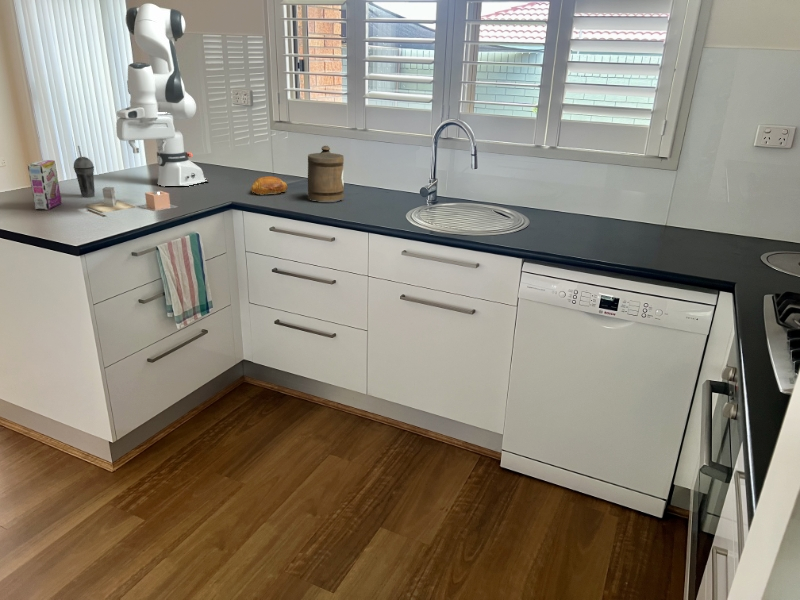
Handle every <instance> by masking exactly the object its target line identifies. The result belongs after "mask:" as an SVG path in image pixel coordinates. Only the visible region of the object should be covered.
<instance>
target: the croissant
mask: <svg viewBox="0 0 800 600" xmlns="http://www.w3.org/2000/svg"><path fill="white" fill-rule="evenodd" d="M250 190H251V193H253V192H254V193H257V194H268V193H279V192H284V191H286V190H288V185H287V183H286V182H285V181H283V180H282V179H281V178H279V177H276V176H263V177H262V176H261V177H259V178H257V179H256V180H255V181H254V182H253V184H252V185H251V187H250ZM286 192H287V191H286ZM254 193H253V194H254Z"/></svg>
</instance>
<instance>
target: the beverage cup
mask: <svg viewBox="0 0 800 600" xmlns="http://www.w3.org/2000/svg"><path fill="white" fill-rule="evenodd" d="M77 148H78V149H77V150H78V153H79V157H77V158H76V159H75V160H74V162H73V169H74V172H75V175H76V178H77V179H76V180H77V183H78V187H79V190H80V194H81V197H82V198H86V199H87V198H94V197H95V196H96V195H95V191H96V190H95V189H96V188H95V180H94V178H95V177H94V175H95V174H94V173H95V165H94V164H93V161H92V160H91V159H89V157H87V156H82V152H81V149H80V145H77Z"/></svg>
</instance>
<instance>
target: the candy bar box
mask: <svg viewBox="0 0 800 600" xmlns="http://www.w3.org/2000/svg"><path fill="white" fill-rule="evenodd" d="M27 169H28V174H29V181H30V186H31V192H32V197H33V202H34V208H35V209H34V210H36V209H42V210H41V211H49V210H51V209H53V208H56V207H57V206H60V205H61V204H62V203H63V202H62V196H61V191H60V185H59V179H58V172H57V166H56V161H55V160H52V159H51V160H49V159H48V160H47V159H44V160H43V159H42V160H41V159H40V160H39V161H35V162H32V163H29V164H27Z"/></svg>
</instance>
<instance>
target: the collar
mask: <svg viewBox="0 0 800 600" xmlns="http://www.w3.org/2000/svg"><path fill="white" fill-rule="evenodd" d="M159 191H160V194H156V195H154V194H153V192H154V191H150V192H149V191H148V192H145V193H144V195H145V197H144V198H145V205H147V207H150V208H153V209H159V208H165V207H170V204H171V200H170V193H169V192H165V191H162V190H159Z"/></svg>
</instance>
